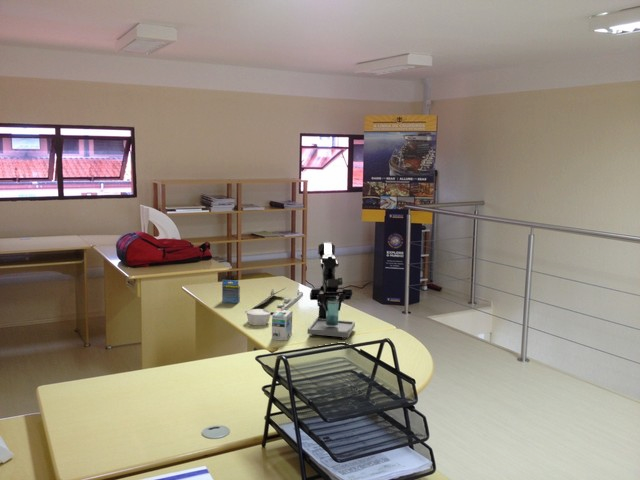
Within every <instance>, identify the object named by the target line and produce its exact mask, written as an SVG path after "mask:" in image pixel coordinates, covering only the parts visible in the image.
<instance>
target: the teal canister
mask: <svg viewBox="0 0 640 480" xmlns="http://www.w3.org/2000/svg"><path fill="white" fill-rule="evenodd" d="M339 312H340V311H339V300H338V299H337V298H336V299H327V311H326V325H329V326H337V325H338V320H339V314H340V313H339Z"/></svg>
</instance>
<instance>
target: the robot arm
mask: <svg viewBox="0 0 640 480" xmlns="http://www.w3.org/2000/svg"><path fill="white" fill-rule="evenodd" d="M335 254H336V245H335V244H333V242H332V241H323V242H322V243H321V244H318V248H317V255H319V256H318V257H319V260H320V265H319V266H320V268H321V270H322V273H321V275H322V276H321V277H322V283H321V284H322V285H321V286H320V288H312V289H311V290H310V293H309V299H310V301H316V302H317V305H316V306H317V307H318V316H317V318H319V319H326V311H327V299H337V297H338V300H339V312H340V311H341V307H342V303H343V302H344V301H346V300H347V301H348V300H351V299H352V297H353V296H352V295H353V289H352V288H343V289H342V291H338V290H339V286H342V285H343V277H337V278H336V270H337V268H338V267H339V262H338V259H336V256H335Z"/></svg>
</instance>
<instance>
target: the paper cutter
mask: <svg viewBox="0 0 640 480" xmlns="http://www.w3.org/2000/svg"><path fill="white" fill-rule="evenodd" d="M285 289H286V287H285V288H282V289H281V290H279V291H277V292H275V290H274V288H272V289H271V290H270V295H269V296H267V297H266V298H265V299H263V300H261V302H260V303H258V304H257V305H255V306H253V307H252V308H251V310H252V309H256V308H257V307H259V306H261V305H262V304H265V303H267V302H269V301H270V299H271V298H272V297H274V296H276V295H277V294H278V293H280V292H282V291H283V290H285ZM296 295H297V296H295V297H294V298H293V299H292V298H290V297H284V298H283V303H278V304H277V306H276V307H277V308H278V309H279V308H280V310H289V308H290V307H292V306H293V305H294V304H295V303H296V302H298V301H299V300H300V299H301V298H302V297H303V296H304V292H302V291H300V290H299V289H298V290H297V294H296ZM285 303H286V305H285ZM270 312H271V313H272V314H274V313H275V311H274V312H272V311H270Z"/></svg>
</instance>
